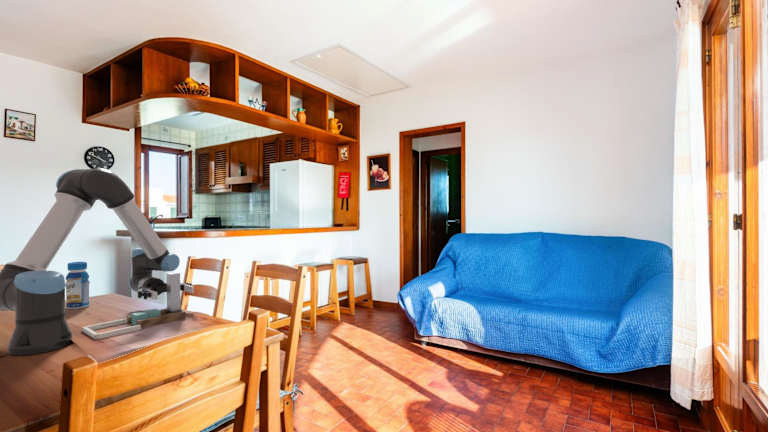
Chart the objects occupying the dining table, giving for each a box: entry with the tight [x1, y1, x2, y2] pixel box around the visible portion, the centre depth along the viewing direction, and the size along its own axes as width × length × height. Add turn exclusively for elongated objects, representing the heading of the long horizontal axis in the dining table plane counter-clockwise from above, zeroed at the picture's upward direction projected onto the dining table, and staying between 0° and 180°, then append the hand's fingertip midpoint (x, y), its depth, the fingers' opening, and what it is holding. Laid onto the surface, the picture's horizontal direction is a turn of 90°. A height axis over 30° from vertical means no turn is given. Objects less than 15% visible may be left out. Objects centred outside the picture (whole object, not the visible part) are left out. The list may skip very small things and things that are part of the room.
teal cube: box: [131, 310, 148, 326], centre depth 137 cm, size 4×4×4 cm
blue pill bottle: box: [65, 261, 91, 310], centre depth 169 cm, size 8×8×20 cm
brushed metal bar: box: [165, 271, 183, 314], centre depth 147 cm, size 4×6×17 cm, turn 53°
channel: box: [126, 308, 187, 329], centre depth 142 cm, size 16×11×4 cm
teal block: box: [143, 308, 161, 318], centre depth 141 cm, size 4×4×4 cm
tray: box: [81, 317, 142, 340], centre depth 130 cm, size 13×14×3 cm
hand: (175, 292), depth 147 cm, fingers open, 13 cm apart
